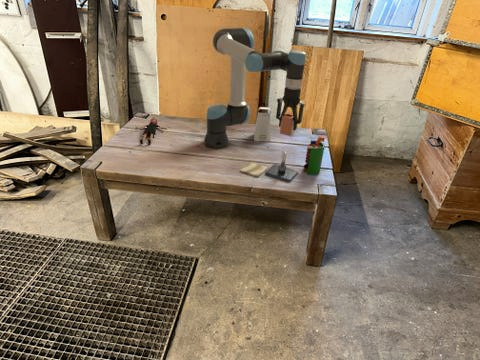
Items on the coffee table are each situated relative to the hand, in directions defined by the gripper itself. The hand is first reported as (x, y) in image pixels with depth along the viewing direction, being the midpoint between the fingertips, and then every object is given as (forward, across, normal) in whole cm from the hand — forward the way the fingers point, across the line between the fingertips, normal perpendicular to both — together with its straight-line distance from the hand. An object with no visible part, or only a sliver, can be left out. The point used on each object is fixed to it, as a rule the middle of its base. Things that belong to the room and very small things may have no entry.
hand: (286, 134), depth 159 cm
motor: (+23, +12, +13) cm, 29 cm away
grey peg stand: (+22, 0, 0) cm, 22 cm away
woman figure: (+24, -91, -2) cm, 94 cm away
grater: (+23, -30, +36) cm, 52 cm away
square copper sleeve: (-1, 0, 0) cm, 1 cm away
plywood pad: (+23, -14, -5) cm, 27 cm away
